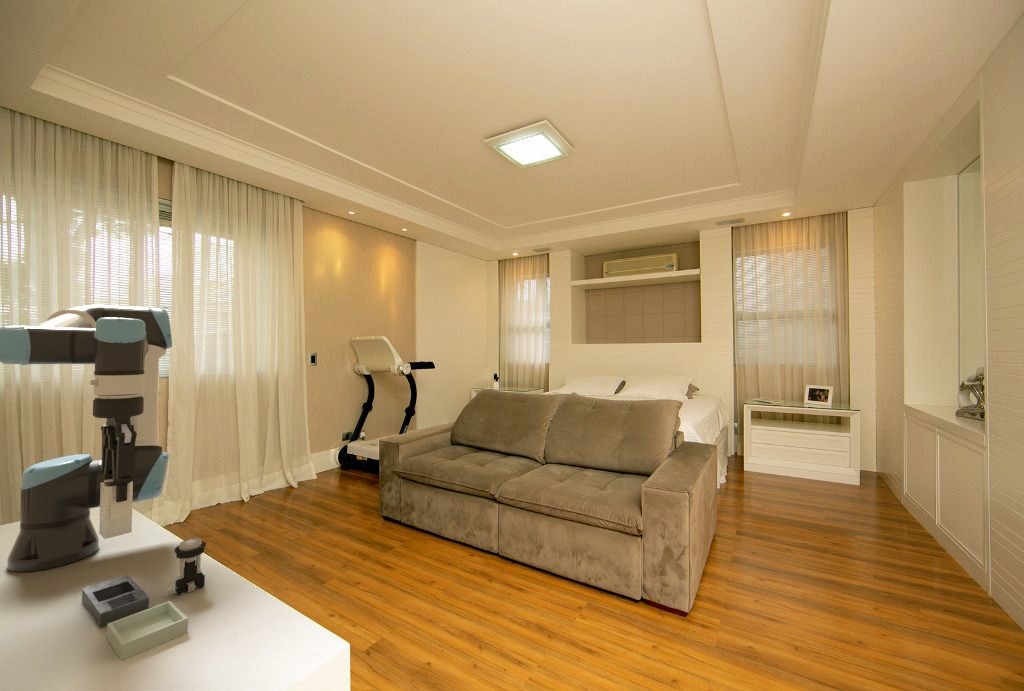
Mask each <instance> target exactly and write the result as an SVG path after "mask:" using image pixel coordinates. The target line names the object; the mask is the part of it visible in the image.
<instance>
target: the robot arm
mask: <svg viewBox="0 0 1024 691" xmlns="http://www.w3.org/2000/svg"><path fill="white" fill-rule="evenodd" d="M170 322H171V321H170V316H169V313H168V311H167V310H165V309H164V308H158V307H150V306H145V307H144V306H129V305H128V306H127V305H126V306H125V305H112V304H111V305H107V304H88V305H79V306H74V307H69V308H64V309H61V310H57V311H56V312H54V313H52V314H51V315H50V316H49V317H48V318H47V319H46V321H42V322H41V323H38V324H36V325H24V324H23V325H22V324H20V325H3V326H1V327H0V363H2V364H4V365H5V364H6V365H22V366H27V365H94V370H93V375H94V376H93V378H94V379H91V380H90V381H89V384H90V385H91V386H93V395H94V396H97V397H95V398H94V399H93V400H92V417H93V418H96V419H106V421H105V422H106V423H105V424H102V425H101V427H100V430H101V458H99V459H93V456H92V454H89V453H82V454H81V453H80V454H73V455H66V456H65V455H64V456H60V457H56V458H52V459H48V460H44V461H41V462H38V463H35V464H33V465H31V466H29V467H27V468H25V470H24V471H23V472H22V476H21V477H22V478H21V486H20V487H19V490H20V519H19V521H20V523H19V525H20V526H19V533H18V535H17V536H16V539H15V542H14V543H13V546H12V548H11V549H10V552H9V554H8V556H7V569H8V570H9V571H11V572H17V573H18V572H19V573H26V572H29V573H30V572H36V571H43V570H48V569H53V568H58V567H61V566H65V565H68V564H72V563H76V562H77V561H80V560H82V559H85V558H88V556H91V555H93V554H95V552H97V550H99V547H100V546H99V543H100V541H99V540H100V538H99V536H98V533H97V531H96V529H95V527H94V525H93V522H92V520H91V516H90V515H91V509H93V508H94V509H95V508H100V488H101V482H107V481H113V482H112V483H109V484H108V487H111V493H110V520H112V519H117V518H121V517H126V516H129V498H130V482H133V497H132V503H139V502H142V501H146V500H147V501H148V500H153V499H155V498H158V497H159V496H160V495H161V494H162V492H163V489H164V484H165V480H166V477H167V476H166V475H167V469H168V463H169V458H170V455H169V452H166V451H163V445H162V444H160V443H159V442H157V441H156V439H157V437H156V436H157V416H158V414H157V413H158V391H159V390H158V388H159V364H160V363H159V362H160V358H162V357H163V356H165V355H166V354H167V353H166V352H167V349H171V348H172V347H173V340H172V338H173V337H172V329H171V324H170Z"/></svg>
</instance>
